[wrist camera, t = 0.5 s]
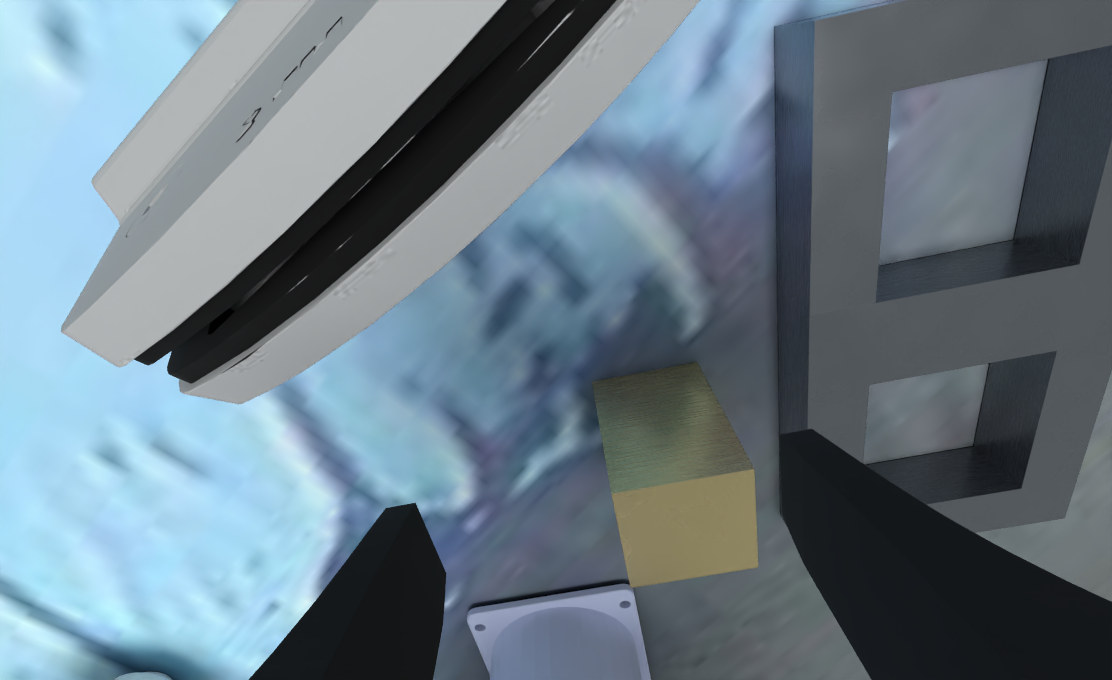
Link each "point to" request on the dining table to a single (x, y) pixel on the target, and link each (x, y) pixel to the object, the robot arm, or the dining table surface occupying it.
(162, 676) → the sauce bottle
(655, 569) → the tan rectangular block
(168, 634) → the dining table surface
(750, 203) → the dining table surface
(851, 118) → the grey peg hole base
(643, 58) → the grey piece
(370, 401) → the dining table surface
